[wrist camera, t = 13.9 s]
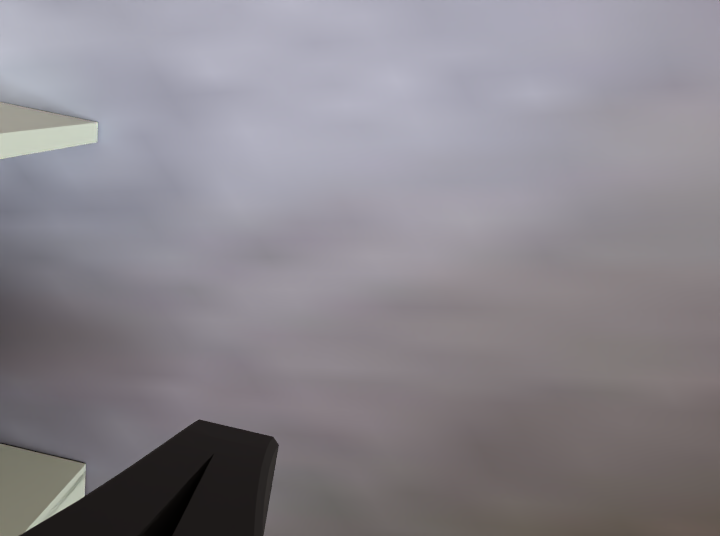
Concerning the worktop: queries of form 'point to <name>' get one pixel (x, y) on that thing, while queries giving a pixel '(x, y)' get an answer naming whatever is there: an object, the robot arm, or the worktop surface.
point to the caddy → (11, 464)
